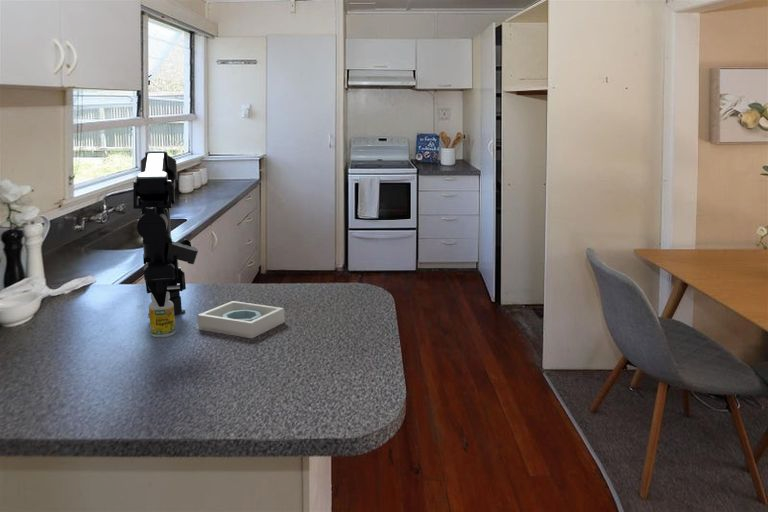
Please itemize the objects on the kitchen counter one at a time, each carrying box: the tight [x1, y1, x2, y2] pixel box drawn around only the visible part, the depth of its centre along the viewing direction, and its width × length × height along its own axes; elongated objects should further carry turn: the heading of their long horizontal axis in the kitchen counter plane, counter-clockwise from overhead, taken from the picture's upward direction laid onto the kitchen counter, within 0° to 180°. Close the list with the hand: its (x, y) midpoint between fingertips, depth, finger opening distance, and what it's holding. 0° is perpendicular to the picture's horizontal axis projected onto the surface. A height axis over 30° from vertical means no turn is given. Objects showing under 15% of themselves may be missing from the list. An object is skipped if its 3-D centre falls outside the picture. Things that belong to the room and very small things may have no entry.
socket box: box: [197, 300, 285, 339], centre depth 154 cm, size 15×13×4 cm
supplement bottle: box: [148, 292, 176, 338], centre depth 147 cm, size 5×5×10 cm
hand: (161, 301), depth 147 cm, fingers open, 9 cm apart
